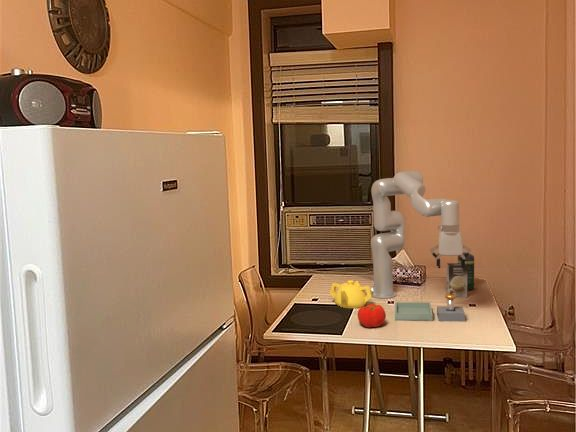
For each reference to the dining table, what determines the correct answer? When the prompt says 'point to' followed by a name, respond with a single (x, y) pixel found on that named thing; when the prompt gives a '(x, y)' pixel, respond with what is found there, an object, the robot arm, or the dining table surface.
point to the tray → (413, 311)
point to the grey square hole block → (450, 314)
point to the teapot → (350, 294)
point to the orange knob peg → (450, 301)
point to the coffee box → (457, 280)
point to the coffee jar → (469, 270)
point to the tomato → (371, 315)
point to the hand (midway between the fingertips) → (450, 267)
